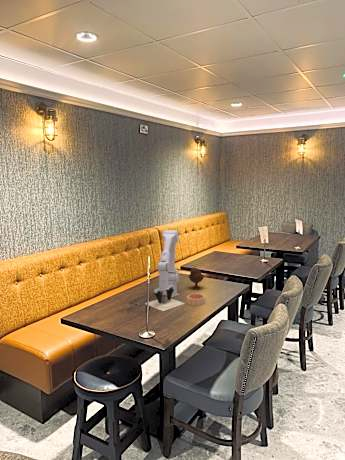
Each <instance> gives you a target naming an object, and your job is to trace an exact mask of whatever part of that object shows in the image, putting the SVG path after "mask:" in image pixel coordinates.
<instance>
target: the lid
mask: <svg viewBox="0 0 345 460" xmlns="http://www.w3.org/2000/svg"><path fill="white" fill-rule="evenodd" d="M166 297H167V296H162V299H161V303H158V300H157V299H155V300H156V301H154V300H153V301H154V302H153V305H154V306H156V307H162V308H166V307H171V306H174V305H175V304H176V302H175V301H174V300H175V299H174V300H168V298H166Z"/></svg>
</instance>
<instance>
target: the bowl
mask: <svg viewBox="0 0 345 460" xmlns="http://www.w3.org/2000/svg"><path fill="white" fill-rule="evenodd" d="M186 303H187V304H188V305H189V306H194V307H199V306H203V305H206V295H205V294H202V293H190V294H188V295H187V296H186Z"/></svg>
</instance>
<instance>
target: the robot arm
mask: <svg viewBox="0 0 345 460" xmlns="http://www.w3.org/2000/svg"><path fill="white" fill-rule="evenodd" d="M161 235H162V239H163V241H164V242H163V243H164V246H163V250H162V251H161V255H160V259H159V262H157V271H158V277H159V278H158V279H159V281H158V282H159V283H158V284H159V287H157V288H155V289H154V290H153V293H154V295H155V297H156V300H158V303H161V299H162V298H163V295H164V296H165V297H167V298H168V300H171V299H172V298H173V297H176V296H179V295H180V293H178V292H177V291H178V289H177V288H178V285H177V283H178V282H179V279H180V273H179V270H178V269H177V268H176V265H175V264H176V245H177V243H179V238H180V237H179V235H180V234H179V231H178V229H174V230H172V229H164V230H163V231H162V234H161Z"/></svg>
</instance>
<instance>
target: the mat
mask: <svg viewBox="0 0 345 460" xmlns="http://www.w3.org/2000/svg"><path fill="white" fill-rule="evenodd" d="M165 297H166V298H167V296H165ZM156 300H157V299H154V300H151V301H148V302H149V305H147V303H148V302H145V303H144V305H147V306H149V307H152V308H154V309H157V310H159V311H161V312H165V311H167V310H170V309H174V308H176V307H179V306H182V305H184V304H186V303H185V302H183V301H179V300H177V299H173V298H171V300H174V301H175V302H176V304H175V305H174V306H171V307H166V308H162V307H156V306H154V305H153V302H154V301H156Z"/></svg>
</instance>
